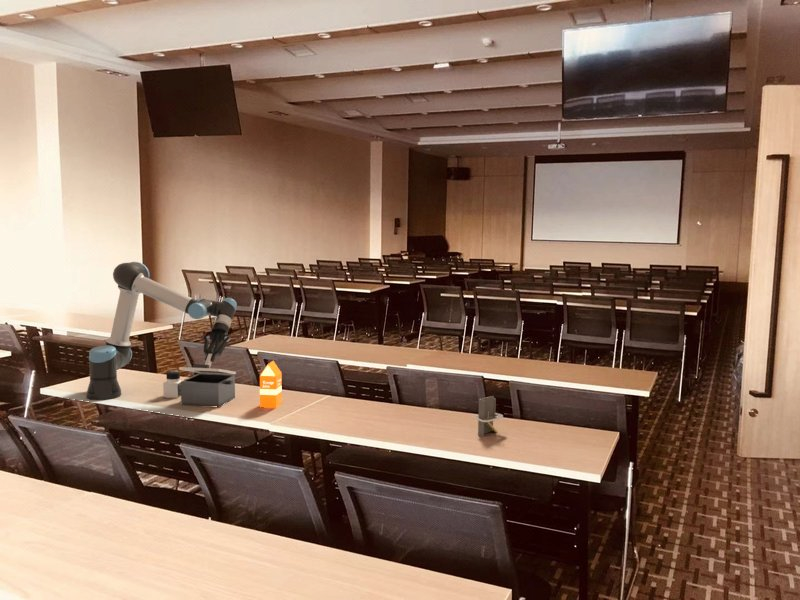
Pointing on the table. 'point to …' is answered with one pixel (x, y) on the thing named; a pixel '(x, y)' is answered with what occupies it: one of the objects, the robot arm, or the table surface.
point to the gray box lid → (205, 369)
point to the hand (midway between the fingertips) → (206, 367)
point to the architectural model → (487, 415)
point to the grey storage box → (207, 390)
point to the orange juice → (271, 386)
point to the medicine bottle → (172, 385)
